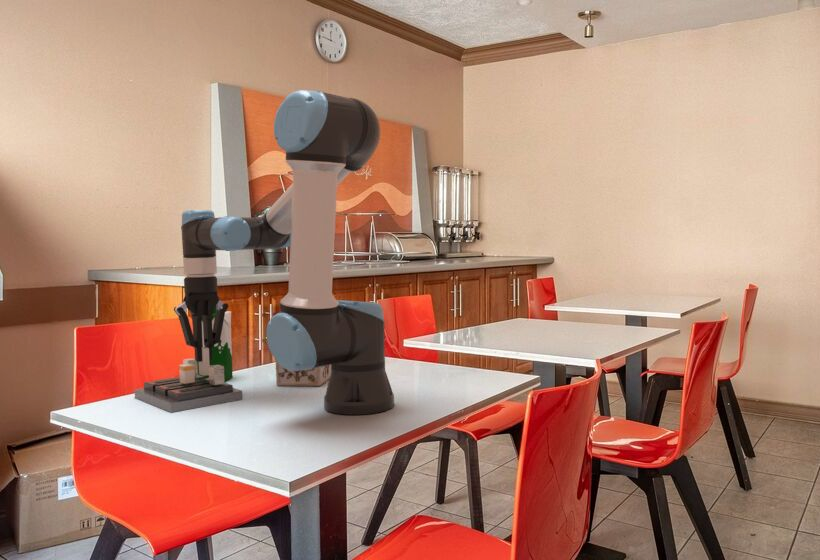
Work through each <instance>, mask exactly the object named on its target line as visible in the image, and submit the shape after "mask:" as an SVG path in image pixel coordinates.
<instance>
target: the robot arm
mask: <svg viewBox="0 0 820 560" xmlns="http://www.w3.org/2000/svg"><path fill="white" fill-rule="evenodd" d="M273 135H274V139H275V140H276V143H277V145H278V147H279V148H280V149H281V150H283V151H284V152H285V163H286V164H287V165H288V166H289V167H290V169H291V170H292V183H291V184H290V185H289V186H288V187H287V189H286V190H285V191H284V192H283V193H282V195H280V197H278V199H277V200H276V201H275V202H274V203H273V204H272V205H271V207H269V208H268V210H267V211H266V212H264V214H263V215H262V216H260V217H256V216H255V217H254V216H253V217H252V216H251V217H250V216H249V217H245V216H244V217H242V216H241V217H238V216H233V215H232V216H228V215H227V216H221V217H219V216H218V217H215V212H214V211H213V210H211V209H210V210H209V209H191V210H185V211H183V212H182V214H181V226H180V229H181V230H180V231H181V241H182V242H181V243H182V244H181V245H182V255H183V256H182V260H183V262H182V264H183V266H182V267H183V274H184V275H185V276H186V277H184V278H183V287H184V288H183V291H184V297H183V300H182V303H181V304H180V305H178V306H174V307H173V311H174V312H175V314H176V315H177V316H178V320H179V323H180V327H181V330H182V334H183V337H184V341H185V344H186V346H189V347H193V349H194V359H195V360H196V361H197V362H199V374H200V375H203V376H206V375H209V366H210V364H209V360H212V358H213V356H212V347H214V345H215V344H217V343H219V342H220V338H221V332H222V327H223V321H224V316H225V312H227V310H228V309H229V306H230V305H229V303H228V302H227V303H226V302H224V301H222V300H220V296H219V295H218V277H217V276H216V274H217V273H218V268H217V266H218V265H217V251H225V252H230V251H231V252H234V251H243V250H246V251H247V250H279V249H284V248H285V249H286V248H288V247H289V266H288V267H289V269H288V272H289V273H288V292H287V294H286V295H285V296H283V297H282V298H281V299H280V302H279V303H280V305H279V312H278V313H276V314H274V315H273V316H272V317H271V318H270V320H269V321H268V322H267V326H266V333H265V334H266V335H265V336H266V341H267V346H268V348H269V352H270V354H271V355H272V356H273V359H274V360H275V362H276V361H277V363H278V364H279V365H281V366H282V367H283V368H285V369H287V370H290V371H299V370H311V369H313V368H317V367H322V366H326V365H331V376H330V379H329V380H328V383H327V387H326V391H325V395H324V397H323V405H324V406H323V408H324V410H326V411H327V412H328V413H333V414H338V415H353V416H354V415H368V414H371V415H372V414H377V413H381V412H385V411H388V410H391V409H393V408H394V406H395V396H394V395H395V394H394V391H393V390H392V386H391V383H390V380H389V378H388V377H389V376H388V374H387V372H386V350H385V349H386V347H385V346H386V345H385V343H386V341H385V340H386V339H385V323H386V321H385V319H384V316H385V315H384V309H383V306H382V305H381V304H380V303H378V302H373V301H356V300H355V301H354V300H339V299H336V298H335V296H334V295H333V277H334V253H335V237H336V236H335V235H336V216H337V215H336V213H337V211H336V210H337V195H338V194H337V193H338V191H337V190H338V185H340V184H341V182H342V181H343V180H345V178H346V177H347V176H348V175H350V173H356V172H358V171H360V170H361V169H362V168H363V167H364V166H365V165H366V164H367V163H368V162H369V161H370V159H371V158H372V157H373V155H374V153H375V152H376V150H377V149H378V146H379V143H380V138H381V126H380V121H379V118H378V115H377V114H376V112H375V111H374V109H373V108H372V107H371V106H370V105H369V104H367V103H366V102H364V101H362V100H360V99H359V98H358V99H357V98H353V97H346V96H342V95H336V94H331V93H328V92H324V91H323V92H322V91H320V90H318V91H317V90H306V89H302V90H301V89H299V90H296V91H294V92H291V93H289V94H288V95H287V96H286V97H285V98H284V99H283V102H281V103H280V105H279V107H278V108H277V111H276V113H275V117H274V122H273ZM216 305H217V306H216ZM215 307H216V309H217V311H216V314H215V320H214V325H213V330H212V318H213V310H214V309H215ZM188 311H189V312H190V314H191V319H192V327H191V324H190V319H189V317H188V314H187V312H188ZM202 318H203V336H204V345H205V347H203V340H202Z"/></svg>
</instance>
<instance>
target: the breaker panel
mask: <svg viewBox="0 0 820 560" xmlns="http://www.w3.org/2000/svg"><path fill="white" fill-rule="evenodd" d="M183 364H192V365H194V368H195V370H194V375H195V382H192V383H186V384H185V383H181V382H180V376H176V377H169V378H163V379H156V380H150V381H144V382H143V387H141V388H137V389H136V388H135V389H133V390H134V398H135V399H136V400H139V401H142V402H144V403H147V404H149V405H152V406H154V407H156V408H159V409H160V410H163V411H166V412H169V413H177V412H183V411H187V410H192V409H197V408H198V409H199V408H202V407H208V406H214V405H219V404H226V403H230V402H235V401H241V400H243V390H241V389H237V388H234V385H233V384H231V383H230V384H229V383H227V382H226V381H225V382H224V366H221V365H214V366H209V378H206V377H203V376H200V375H198V366H197V361H196V360H195V358H193V357H191V358H184V359H182V365H183Z"/></svg>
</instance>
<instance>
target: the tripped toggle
mask: <svg viewBox="0 0 820 560" xmlns="http://www.w3.org/2000/svg"><path fill="white" fill-rule="evenodd" d="M194 370H195V368H194V365H192V364H183V363H182V364H179V365H178V372H179V377H180V382H181V383H185V384H186V383H192V382H195V375H194Z"/></svg>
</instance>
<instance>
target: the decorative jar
mask: <svg viewBox="0 0 820 560" xmlns="http://www.w3.org/2000/svg"><path fill="white" fill-rule="evenodd" d="M275 376H276V377H275V378H276V379H275V380H276V386H278V387H321V386H322V385H323V384H325V383H326V382H328V381H329V379H330V376H331V365H326V366H322V367H317V368H313V369H311V370H299V371H290V370H287V369H285V368H283V367H282V366H281V365H279V364H278V363H277V361H276V360H275Z"/></svg>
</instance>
